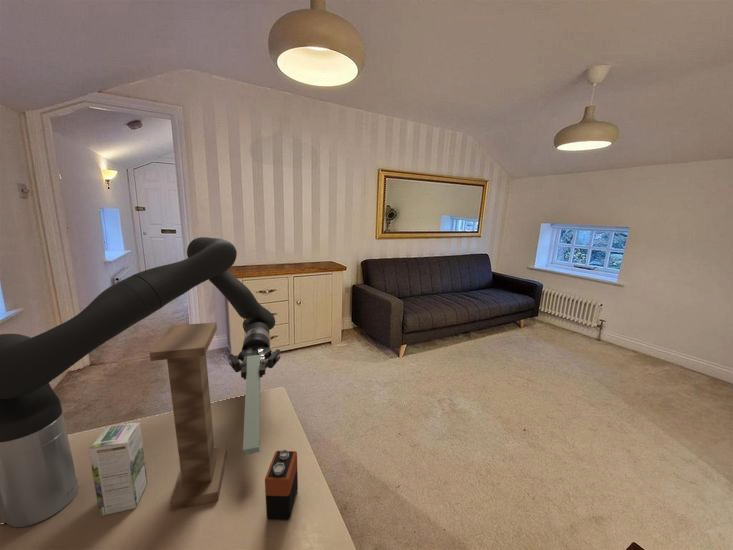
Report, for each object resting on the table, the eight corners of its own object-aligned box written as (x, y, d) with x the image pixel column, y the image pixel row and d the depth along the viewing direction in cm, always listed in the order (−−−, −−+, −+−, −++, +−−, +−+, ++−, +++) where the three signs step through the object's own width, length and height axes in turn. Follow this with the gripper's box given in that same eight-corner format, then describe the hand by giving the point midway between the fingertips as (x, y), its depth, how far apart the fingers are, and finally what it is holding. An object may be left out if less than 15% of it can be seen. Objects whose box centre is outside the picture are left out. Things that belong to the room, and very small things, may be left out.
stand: (171, 511, 56) (149, 352, 49) (188, 460, 67) (172, 325, 60) (218, 500, 58) (204, 347, 51) (227, 452, 69) (216, 322, 63)
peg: (244, 455, 63) (242, 450, 61) (248, 362, 78) (247, 356, 76) (259, 452, 64) (258, 446, 62) (260, 361, 79) (259, 354, 77)
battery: (265, 521, 55) (263, 475, 52) (277, 487, 61) (275, 445, 59) (289, 522, 55) (288, 476, 52) (298, 488, 61) (297, 446, 59)
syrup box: (114, 489, 60) (103, 426, 57) (149, 482, 61) (139, 420, 58) (99, 517, 54) (85, 449, 51) (137, 508, 56) (126, 442, 53)
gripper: (229, 334, 86) (219, 364, 70) (280, 330, 90) (282, 357, 74) (231, 358, 88) (222, 393, 72) (281, 353, 92) (283, 384, 76)
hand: (253, 374), depth 73 cm, fingers closed on peg, 3 cm apart
